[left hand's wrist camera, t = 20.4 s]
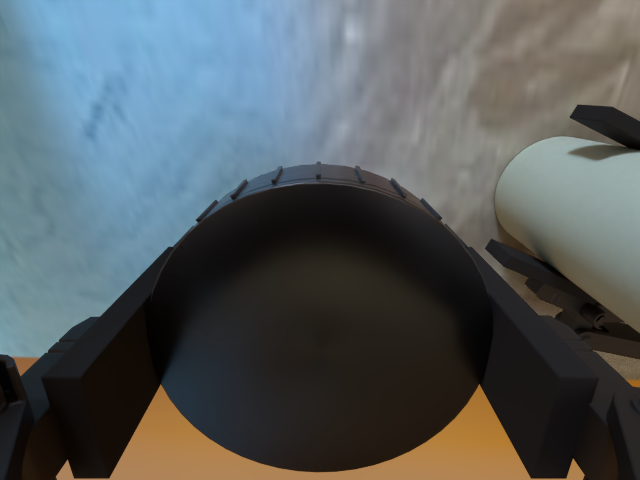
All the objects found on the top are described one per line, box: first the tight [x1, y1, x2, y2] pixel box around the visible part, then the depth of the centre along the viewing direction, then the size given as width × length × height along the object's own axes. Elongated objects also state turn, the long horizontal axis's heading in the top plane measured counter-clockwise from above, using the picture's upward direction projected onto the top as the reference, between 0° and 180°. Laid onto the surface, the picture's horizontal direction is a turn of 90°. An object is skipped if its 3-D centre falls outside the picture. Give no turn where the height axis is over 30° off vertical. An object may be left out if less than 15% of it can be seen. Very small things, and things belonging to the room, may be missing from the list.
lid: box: [147, 162, 493, 472], centre depth 11 cm, size 9×9×2 cm
